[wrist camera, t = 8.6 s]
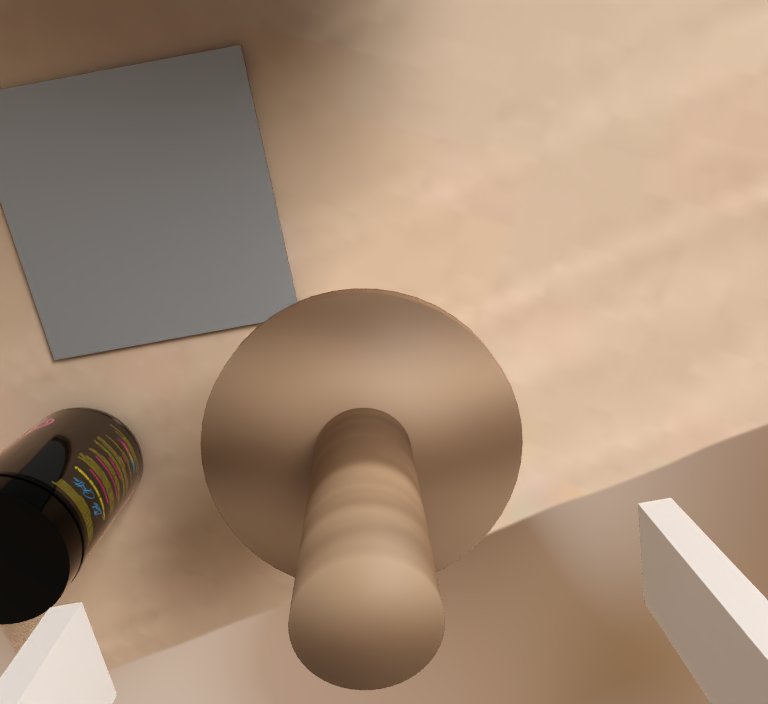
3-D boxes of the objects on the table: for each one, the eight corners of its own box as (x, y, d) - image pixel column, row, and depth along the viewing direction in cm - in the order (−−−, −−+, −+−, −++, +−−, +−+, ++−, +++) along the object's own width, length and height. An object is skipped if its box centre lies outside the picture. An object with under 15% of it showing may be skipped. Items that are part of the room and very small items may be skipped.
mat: (-31, 97, 31) (-36, 96, 31) (241, 46, 31) (239, 44, 31) (57, 358, 35) (54, 360, 35) (299, 314, 35) (299, 315, 35)
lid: (171, 320, 23) (24, 435, 13) (494, 261, 23) (604, 329, 13) (249, 594, 26) (180, 859, 16) (530, 543, 26) (640, 777, 16)
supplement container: (85, 379, 36) (-22, 459, 26) (171, 459, 37) (103, 563, 27) (7, 451, 37) (-125, 555, 27) (94, 526, 38) (1, 651, 28)
